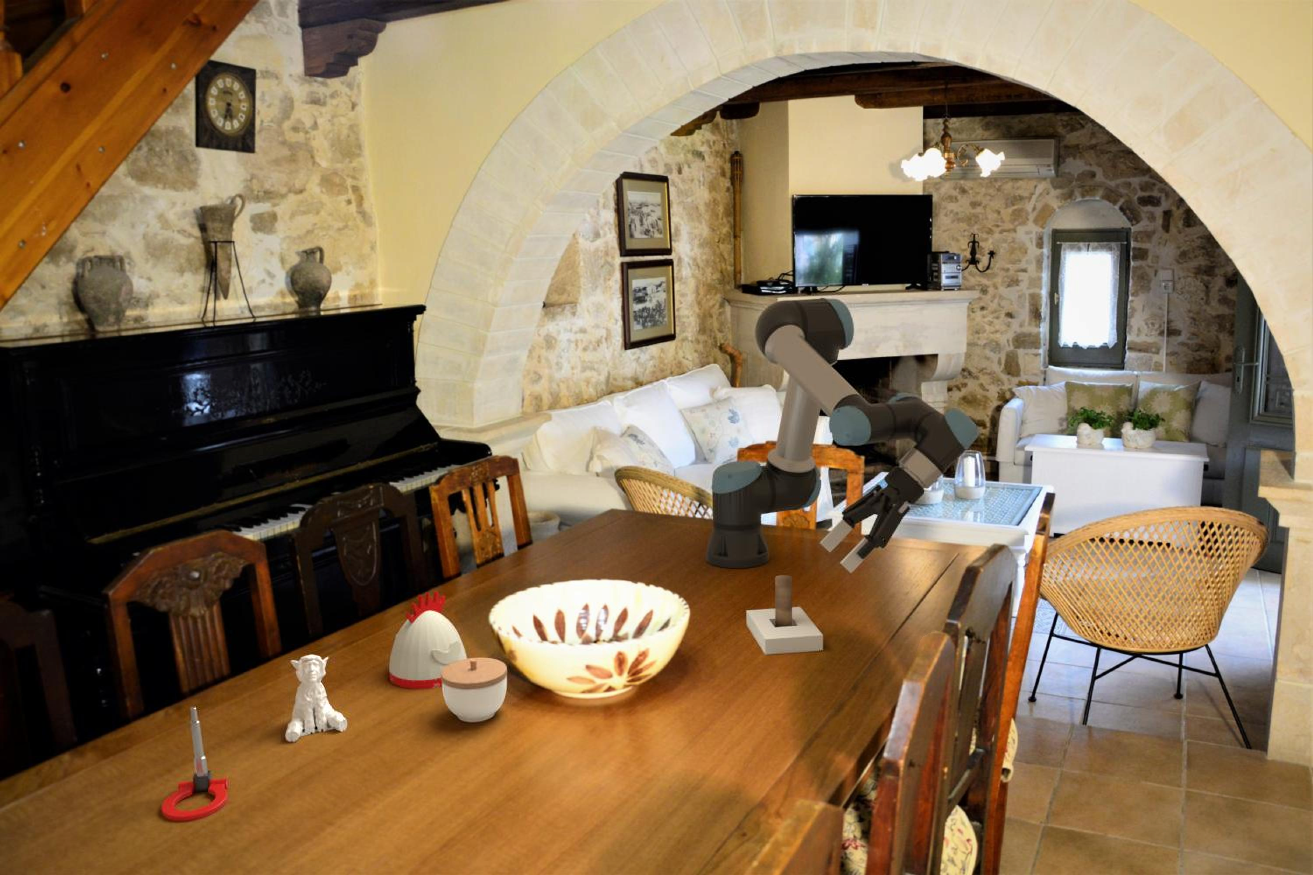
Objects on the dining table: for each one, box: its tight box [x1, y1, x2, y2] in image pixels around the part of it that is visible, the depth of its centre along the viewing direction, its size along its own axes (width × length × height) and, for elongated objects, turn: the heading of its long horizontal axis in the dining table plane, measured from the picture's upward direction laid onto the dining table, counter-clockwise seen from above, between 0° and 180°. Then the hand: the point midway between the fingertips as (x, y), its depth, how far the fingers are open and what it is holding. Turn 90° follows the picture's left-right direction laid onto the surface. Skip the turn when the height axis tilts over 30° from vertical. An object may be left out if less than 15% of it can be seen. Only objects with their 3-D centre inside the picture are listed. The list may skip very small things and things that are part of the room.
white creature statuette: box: [284, 654, 348, 743], centre depth 170 cm, size 10×9×12 cm
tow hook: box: [161, 706, 229, 822], centre depth 147 cm, size 8×13×9 cm
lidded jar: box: [441, 657, 508, 723], centre depth 174 cm, size 11×11×9 cm
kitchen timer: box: [388, 590, 468, 690], centre depth 191 cm, size 14×14×15 cm
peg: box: [774, 574, 793, 627], centre depth 204 cm, size 3×3×12 cm
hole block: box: [745, 606, 824, 655], centre depth 205 cm, size 16×11×3 cm
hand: (834, 557), depth 204 cm, fingers open, 13 cm apart
